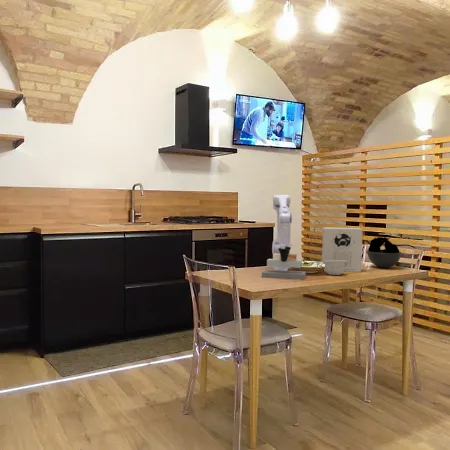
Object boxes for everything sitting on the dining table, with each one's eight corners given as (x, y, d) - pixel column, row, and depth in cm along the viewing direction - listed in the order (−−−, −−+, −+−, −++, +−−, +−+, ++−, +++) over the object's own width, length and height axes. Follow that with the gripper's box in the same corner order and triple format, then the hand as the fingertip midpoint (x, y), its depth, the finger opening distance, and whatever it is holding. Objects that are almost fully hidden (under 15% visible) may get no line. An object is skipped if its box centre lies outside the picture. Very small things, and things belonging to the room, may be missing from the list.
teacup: (329, 276, 253) (329, 261, 253) (321, 273, 264) (321, 259, 263) (353, 275, 256) (353, 261, 255) (344, 272, 266) (344, 258, 266)
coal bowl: (375, 264, 303) (376, 235, 302) (406, 267, 289) (407, 237, 288) (360, 267, 288) (361, 237, 287) (392, 271, 274) (393, 239, 273)
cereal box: (358, 270, 277) (360, 228, 276) (361, 272, 270) (362, 228, 268) (321, 269, 280) (322, 227, 278) (323, 271, 272) (324, 228, 271)
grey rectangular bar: (266, 266, 250) (267, 259, 250) (268, 265, 255) (268, 258, 255) (300, 267, 245) (301, 261, 245) (301, 266, 250) (301, 260, 250)
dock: (265, 273, 259) (265, 269, 258) (305, 276, 253) (305, 271, 253) (261, 277, 248) (262, 272, 248) (303, 279, 242) (303, 274, 242)
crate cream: (274, 259, 254) (274, 253, 253) (281, 259, 253) (281, 253, 252) (272, 259, 250) (272, 254, 250) (280, 260, 249) (280, 254, 249)
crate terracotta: (288, 259, 252) (289, 254, 251) (296, 259, 250) (296, 254, 250) (288, 260, 248) (288, 254, 248) (295, 260, 247) (295, 255, 246)
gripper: (290, 236, 241) (290, 263, 242) (294, 234, 255) (293, 259, 256) (277, 236, 243) (276, 262, 244) (281, 234, 257) (280, 259, 258)
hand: (284, 261), depth 250 cm, fingers closed on grey rectangular bar, 5 cm apart
